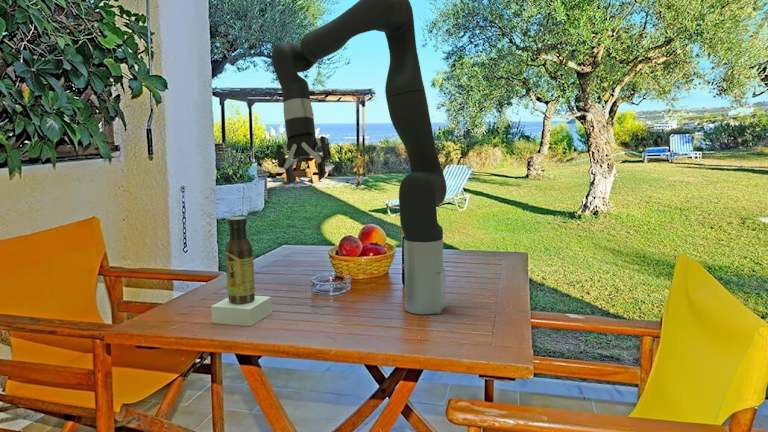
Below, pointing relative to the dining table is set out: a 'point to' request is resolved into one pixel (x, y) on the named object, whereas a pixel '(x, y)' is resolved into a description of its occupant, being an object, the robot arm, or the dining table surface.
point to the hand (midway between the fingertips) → (306, 180)
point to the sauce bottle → (239, 263)
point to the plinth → (241, 311)
